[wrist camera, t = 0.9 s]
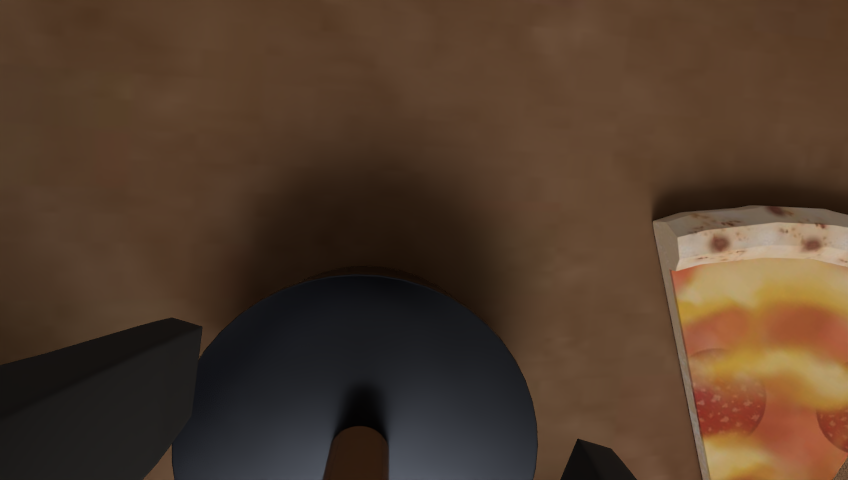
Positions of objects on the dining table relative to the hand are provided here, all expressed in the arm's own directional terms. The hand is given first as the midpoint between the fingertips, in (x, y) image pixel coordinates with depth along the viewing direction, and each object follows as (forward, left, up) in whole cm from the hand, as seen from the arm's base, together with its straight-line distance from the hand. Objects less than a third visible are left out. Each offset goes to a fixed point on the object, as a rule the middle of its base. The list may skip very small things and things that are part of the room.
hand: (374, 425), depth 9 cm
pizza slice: (+2, -18, -15) cm, 24 cm away
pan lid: (-6, -1, -11) cm, 12 cm away
